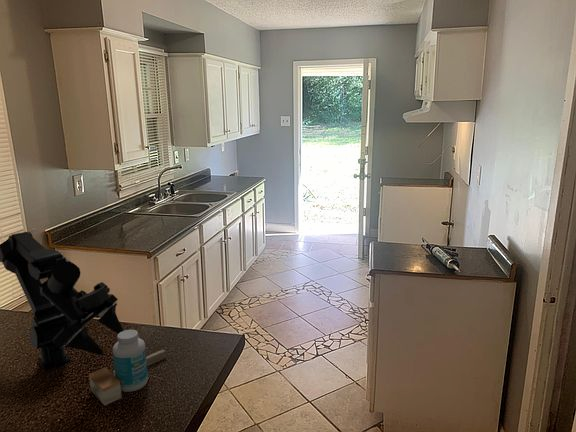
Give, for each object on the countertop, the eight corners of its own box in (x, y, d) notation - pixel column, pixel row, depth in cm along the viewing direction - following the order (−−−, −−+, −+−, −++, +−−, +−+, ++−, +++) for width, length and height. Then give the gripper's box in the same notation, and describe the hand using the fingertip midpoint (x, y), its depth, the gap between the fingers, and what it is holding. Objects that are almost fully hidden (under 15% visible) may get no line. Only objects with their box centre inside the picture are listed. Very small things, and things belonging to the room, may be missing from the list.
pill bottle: (138, 395, 103) (133, 343, 100) (110, 391, 104) (104, 340, 101) (154, 376, 110) (149, 328, 107) (127, 373, 112) (122, 325, 108)
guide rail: (113, 377, 110) (112, 370, 109) (163, 355, 119) (163, 349, 119) (115, 379, 109) (114, 372, 109) (166, 357, 119) (165, 350, 118)
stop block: (91, 390, 105) (88, 374, 104) (107, 383, 108) (105, 367, 107) (104, 405, 99) (102, 388, 98) (121, 397, 102) (119, 381, 101)
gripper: (58, 294, 94) (110, 344, 95) (107, 264, 112) (150, 306, 113) (31, 324, 97) (82, 373, 98) (82, 290, 115) (125, 331, 116)
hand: (113, 343), depth 106 cm, fingers open, 9 cm apart
